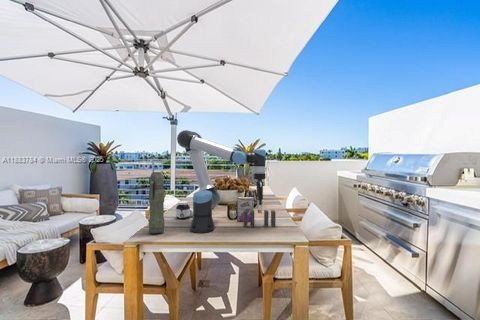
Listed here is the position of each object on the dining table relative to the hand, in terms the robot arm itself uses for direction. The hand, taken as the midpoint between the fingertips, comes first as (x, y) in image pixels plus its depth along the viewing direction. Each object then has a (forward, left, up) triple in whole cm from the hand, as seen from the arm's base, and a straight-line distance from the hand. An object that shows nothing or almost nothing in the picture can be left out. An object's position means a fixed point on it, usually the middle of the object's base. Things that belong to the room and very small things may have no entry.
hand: (259, 209), depth 160 cm
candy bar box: (-8, +14, -11) cm, 20 cm away
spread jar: (-52, +25, -11) cm, 59 cm away
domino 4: (+4, 0, -11) cm, 12 cm away
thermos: (-63, -9, -11) cm, 65 cm away
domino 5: (+9, 0, -11) cm, 14 cm away
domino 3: (0, 0, -2) cm, 2 cm away
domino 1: (-9, 0, -11) cm, 14 cm away
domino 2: (-5, 0, -11) cm, 12 cm away
